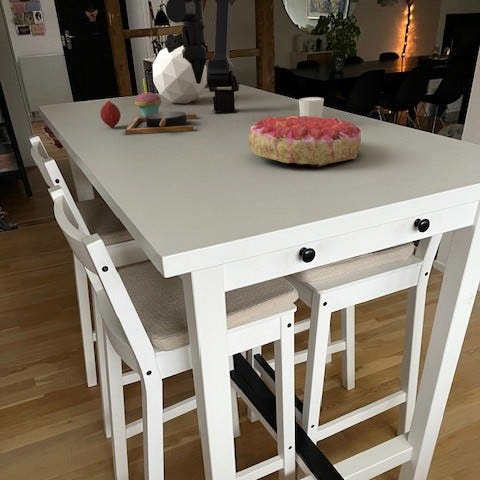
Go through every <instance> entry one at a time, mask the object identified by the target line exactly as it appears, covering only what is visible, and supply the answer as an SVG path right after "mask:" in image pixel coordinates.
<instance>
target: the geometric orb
mask: <svg viewBox="0 0 480 480" xmlns="http://www.w3.org/2000/svg"><path fill="white" fill-rule="evenodd" d="M183 49H184V48H183V46H181V47H179V48H177V49H175V50H174V51H173V52H171V53H168V50H167V48H166V47H165V48H163V49H161V50H160V51H159V52H158V54H157V56H156V57H155V60H154V61H153V63H152V80H153V84H154V86H155V88H156V90H157V92H158V95H160V96H161V97H163V98H165V99H166V100H168V101H169V102H171V103H172V104H186V105H187V104H189V103H191V102H192V101H195V100H197V99H199V97H200V96H201V94H202V92H203V91H204V89H205V88H206V86H207V72H208V66H206V65H207V64H205V67H204V71H203V75H202V79H201V83H200V84H197V83H196V80H195V76H194V73H193V69H192V66H191V64H190V63H189V62H188V61H187V60H186V59H185V58H183V54H182V50H183Z"/></svg>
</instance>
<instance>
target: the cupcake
mask: <svg viewBox="0 0 480 480" xmlns="http://www.w3.org/2000/svg"><path fill="white" fill-rule="evenodd" d="M142 82H143V89H144V92H142V93H140V94H138V95H137V96H136V97H135V99H134V105H135V106H137V107H138V109H139V111H140V113H141V115H142V117H146V115H149V114H152V113H157V112H159V108H160V105H161V104H162V98H161V97H160V96H161V95H160V96H159V94H157V93H153V92H148V90H147V85H146V79H145V78H144V76H142Z"/></svg>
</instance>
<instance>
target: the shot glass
mask: <svg viewBox="0 0 480 480" xmlns="http://www.w3.org/2000/svg"><path fill="white" fill-rule="evenodd" d="M324 101H325V98H323V97H319V96H307V97H302V98H299V99H298V108H299V117H301V116H307V117H321V118H323V111H324V110H323V109H324Z"/></svg>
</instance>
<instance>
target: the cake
mask: <svg viewBox="0 0 480 480" xmlns="http://www.w3.org/2000/svg"><path fill="white" fill-rule="evenodd" d="M361 133H362V132H361V129H360V128H359V127H358V126H356V124H354V123H352V122H349V121H346V120H344V119H341V120H339V119H338V118H337V117H322V118H321V117H307V116H301V117H300V115H299V116H298V115H287V116H285V117H284V116H276V117H274V118H273V116H272V117H271V116H267V117H266V118H264V119H261V120H259V121H256V122H255V123H254V124H251V125H250V129H249V134H248V143H247V144H248V146H247V147H248V149H249V150H250V151H251V152H252V154H253V155H255V156H258V157H261V158H265V159H269V160H274V161H278V162H280V163H284V164H285V165H288V164H292V163H294V164H296V165H297V166H298V167H300V166H302V165H308V166H309V167H312V168H321V167H323V166H326V165H328V164H335V163H339V162H344V161H348V160H356V159H357V158H358V155H359V151H360V147H361V143H362V135H361Z"/></svg>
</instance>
